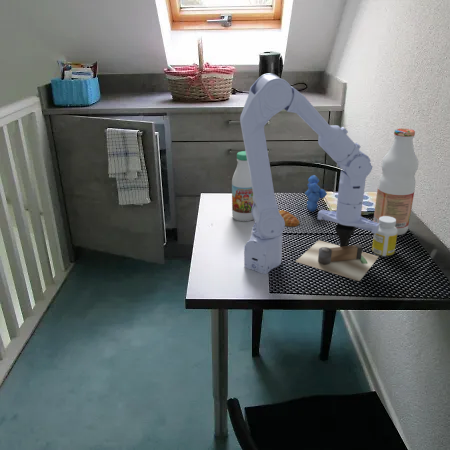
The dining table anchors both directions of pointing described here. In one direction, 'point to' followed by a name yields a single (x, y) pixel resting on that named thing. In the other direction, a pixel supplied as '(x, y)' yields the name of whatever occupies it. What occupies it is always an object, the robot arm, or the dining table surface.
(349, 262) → the dial board
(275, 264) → the robot arm
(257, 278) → the dining table surface
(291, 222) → the pastry
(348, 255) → the pointer lever
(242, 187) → the milk bottle
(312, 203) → the grapes
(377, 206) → the fruit juice
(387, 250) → the supplement bottle
